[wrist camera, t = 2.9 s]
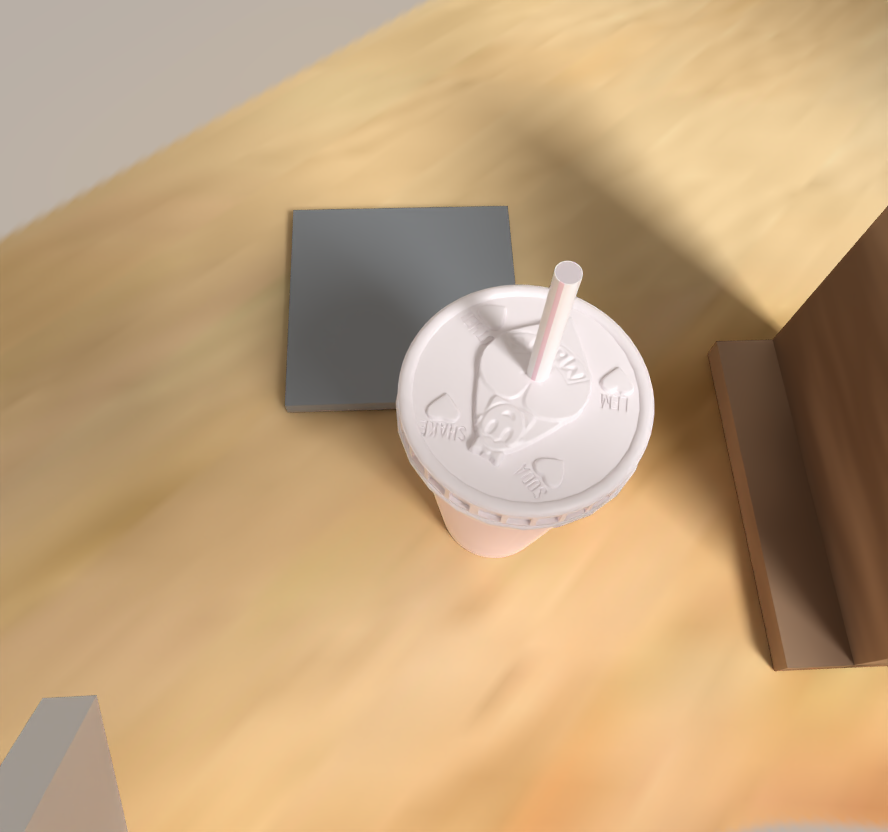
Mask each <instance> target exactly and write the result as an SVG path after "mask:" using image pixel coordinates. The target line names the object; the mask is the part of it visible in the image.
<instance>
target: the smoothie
mask: <svg viewBox="0 0 888 832" xmlns="http://www.w3.org/2000/svg"><path fill="white" fill-rule="evenodd" d="M582 277H583V271H582V269H581V267H580V266H579V265H578V264H577V263H575V262H572V261H563V262H560V263H559V264H558V265H557V266H556V267H555V270H554V274H553V277H552V281H551V285H550V288H547V287H541V286H533V285H504V286H497V287H491V288H487V289H483V290H479V291H476V292H473V293H470V294H468V295H466V296H463V297H461V298H459V299H457V300H456V301H454V302H452V303H450V304H449V305H447V306H446V307H444V308H443V309H441V310H440V311H439V312H438V313H436V314H435V315H434V316H433V317H432V318H431V319H430V320H429V321H428V322H427V323H426V324H425V325H424V326H423V327H422V328H421V330H420V331H419V332H418V333H417V335H416V337H415V338H414V340H413V341H412V343H411V345H410V347H409V349H408V351H407V353H406V355H405V358H404V360H403V363H402V367H401V371H400V375H399V382H398V394H397V399H396V412H397V424H398V434H399V436H400V439H401V441H402V444H403V447H404V449H405V452H406V454H407V457H408V460H409V462H410V464H411V465H412V466H413V468H414V469H415V471H416V472H417V473H418V475H419V476H420V477H421V479H422V480H423V481H424V483H425V484H426V485H427V487H428V488H429V489H430V490H431V491H432V492H433V493H434V496H435V499H436V501H437V504H438V507H439V509H440V512H441V515H442V517H443V520H444V523H445V525H446V528H447V529H448V531H449V533H450V534H451V536H452V537H453V538H454V540H455V541H456V542H457V543H458V544H459V545H461V546H462V547H463V548H465V549H466V550H468V551H469V552H471V553H474V554H476V555H479V556H483V557H489V558H500V557H506V556H510V555H513V554H515V553H517V552H519V551H521V550H523V549H524V548H526V547H527V546H528V545H530V544H531V543H532V542H534V541H535V540H536V539H538V538H539V537H541V536H542V535H543V534H545V533H546V532H547V531H549V530H550V529H551V528H555V527H560V526H563V525H566V524H568V523H571V522H574V521H576V520H579V519H582V518H584V517H587V516H590V515H591V514H593V513H594V512H595V511H597V510H598V509H599V508H601V507H602V506H603V505H605V504H606V503H607V502H609V501H610V500H611V499H613V498H614V497H616V496H617V495H618V493H619V492H620V491H621V489H622V488H623V487H624V485H625V484H626V483H627V481H628V480H629V479H630V477H631V476H632V475H633V473H634V472H635V471H636V468H637V465H638V462H639V461H640V459H641V458H642V456H643V453H644V451H645V449H646V447H647V444H648V441H649V439H650V436H651V431H652V427H653V420H654V396H653V388H652V384H651V379H650V376H649V373H648V370H647V367H646V365H645V363H644V361H643V358H642V356H641V355H640V353H639V351H638V349H637V348H636V346H635V345H634V343H633V342H632V340H631V339H630V338H629V336H628V335H627V334H626V333H625V332H624V331H623V329H622V328H621V327H620V326H619V325H618V324H617V323H616V322H615V321H613V320H612V319H611V318H610V317H609V316H607V315H606V314H605V313H604V312H602V311H601V310H599V309H598V308H596V307H595V306H593V305H591V304H590V303H588V302H586V301H584V300H582V299H580V298H578V297H576V294H577V292H578V289H579V286H580V283H581V280H582Z"/></svg>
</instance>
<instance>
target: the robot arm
mask: <svg viewBox="0 0 888 832" xmlns="http://www.w3.org/2000/svg"><path fill="white" fill-rule="evenodd" d="M0 832H128V830H127V825H126V821H125V817H124V812H123V808H122V803H121V799H120V795H119V790H118V786H117V782H116V777H115V773H114V769H113V764H112V760H111V756H110V751H109V747H108V743H107V738H106V734H105V729H104V725H103V721H102V716H101V712H100V708H99V703H98V699H97V695H92V696H74V697H55V698H42V700H41V701H40V703H39V705H38V706H37V708H36V709H35V711H34V713H33V714H32V716H31V717H30V719H29V721H28V722H27V724H26V725H25V727H24V729H23V730H22V732H21V733H20V735H19V737H18V738H17V740H16V741H15V743H14V745H13V746H12V748H11V749H10V751H9V753H8V754H7V756H6V757H5V759H4V761H3V762H2V764H1V766H0Z"/></svg>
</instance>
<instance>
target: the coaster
mask: <svg viewBox="0 0 888 832" xmlns="http://www.w3.org/2000/svg"><path fill="white" fill-rule="evenodd" d="M504 285H515V277H514V267H513V256H512V246H511V236H510V226H509V215H508V206H481V207H430V208H379V209H328V210H294V211H293V234H292V257H291V279H290V302H289V325H288V348H287V370H286V393H285V407H286V410H287V412H318V411H351V410H383V409H396V399H397V394H398V382H399V375H400V371H401V367H402V363H403V360H404V358H405V355H406V353H407V351H408V349H409V347H410V345H411V343H412V341H413V340H414V338H415V337H416V335H417V333H418V332H419V331H420V330H421V328H422V327H423V326H424V325H425V324H426V323H427V322H428V321H429V320H430V319H431V318H432V317H433V316H434V315H435V314H436V313H438V312H439V311H440V310H441V309H443V308H444V307H446V306H447V305H449V304H450V303H452V302H454V301H456V300H457V299H459V298H461V297H463V296H466V295H468V294H470V293H473V292H476V291H479V290H483V289H487V288H491V287H497V286H504Z"/></svg>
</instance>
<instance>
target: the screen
mask: <svg viewBox="0 0 888 832" xmlns="http://www.w3.org/2000/svg"><path fill="white" fill-rule="evenodd" d="M708 358H709V362H710V367H711V372H712V377H713V381H714V386H715V391H716V396H717V400H718V405H719V410H720V415H721V419H722V424H723V429H724V434H725V438H726V443H727V448H728V453H729V458H730V462H731V467H732V472H733V477H734V481H735V486H736V491H737V496H738V500H739V505H740V510H741V515H742V519H743V524H744V529H745V534H746V538H747V543H748V548H749V553H750V557H751V562H752V567H753V572H754V576H755V581H756V586H757V591H758V596H759V600H760V605H761V610H762V615H763V619H764V624H765V629H766V634H767V638H768V643H769V648H770V653H771V657H772V662H773V667H774V671H786V670H808V669H830V668H852V667H874V666H888V206H887V207H886V209H885V210H884V211H883V212H882V213H881V214H880V216H879V217H878V218H877V219H876V220H875V221H874V223H873V224H872V225H871V226H870V227H869V228H868V229H867V231H866V232H865V233H864V234H863V235H862V236H861V238H860V239H859V240H858V241H857V242H856V243H855V245H854V246H853V247H852V248H851V249H850V250H849V252H848V253H847V254H846V255H845V256H844V257H843V259H842V260H841V261H840V262H839V263H838V264H837V266H836V267H835V268H834V269H833V270H832V271H831V273H830V274H829V275H828V276H827V277H826V278H825V279H824V281H823V282H822V283H821V284H820V285H819V286H818V288H817V289H816V290H815V291H814V292H813V293H812V295H811V296H810V297H809V298H808V299H807V300H806V302H805V303H804V304H803V305H802V306H801V307H800V309H799V310H798V311H797V312H796V313H795V314H794V316H793V317H792V318H791V319H790V320H789V321H788V322H787V324H786V325H785V326H784V327H783V328H782V329H781V331H780V332H779V333H778V334H777V335H776V336H775V338H774V339H773V340H745V341H716V343H715V344H714V346H713V347H712V348H711V350H710V351H709V353H708Z"/></svg>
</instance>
